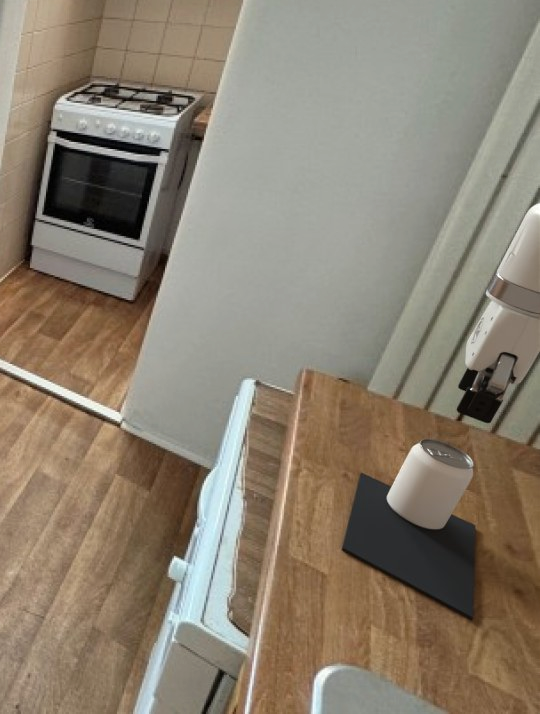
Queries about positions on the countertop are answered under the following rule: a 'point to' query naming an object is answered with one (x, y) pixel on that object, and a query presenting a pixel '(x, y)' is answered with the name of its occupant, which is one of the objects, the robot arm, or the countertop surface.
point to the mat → (413, 548)
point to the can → (430, 483)
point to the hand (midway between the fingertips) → (473, 403)
